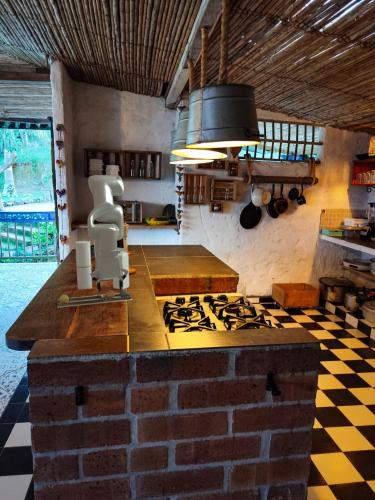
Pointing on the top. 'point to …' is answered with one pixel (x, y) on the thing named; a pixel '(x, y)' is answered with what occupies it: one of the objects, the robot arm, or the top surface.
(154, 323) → the top surface
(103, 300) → the board
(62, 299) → the ochre ball
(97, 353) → the top surface
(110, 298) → the wooden rectangular frame
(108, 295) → the terracotta ball
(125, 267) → the milk
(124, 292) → the charcoal ball
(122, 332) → the top surface
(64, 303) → the wooden picture frame
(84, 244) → the cylindrical container
